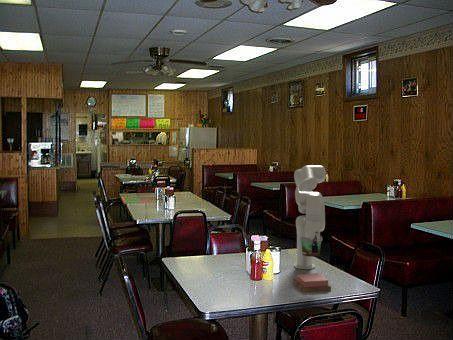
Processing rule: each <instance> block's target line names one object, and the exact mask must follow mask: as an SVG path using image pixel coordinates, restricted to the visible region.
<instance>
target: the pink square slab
mask: <svg viewBox="0 0 453 340" xmlns="http://www.w3.org/2000/svg"><path fill="white" fill-rule="evenodd" d="M295 279H296V281H297V282H299V283H300V284H301V285H302V286H304V287H319V286H328V284H329V280H328V279H327V278H326V277H324V276H323V275H322V274H320V273H318V272H317V273H301V274H295Z"/></svg>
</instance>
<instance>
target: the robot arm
mask: <svg viewBox="0 0 453 340" xmlns="http://www.w3.org/2000/svg"><path fill="white" fill-rule="evenodd" d="M326 176H327V171H326V169H325V166H323V165H312V164H311V165H304V166H303V167H301V168H299V169H296V170H295V171H294V174H293V179H294V183H295V185H296V188H295V190H294V195H295V196H294V198H295V202H296V204H297V206H298V207H297V208H298V212H299V213H301V214H305V215H299V216H297V217H296V219H295V227H296V262H295V263H294V264H293V266H294V268H296V269H299V270H312V269H315V267H316V265H315V264H314V263H313V260H314V259H313V258H314V257H310V256H304V255H302V243H301V240H300V238H301V236H302V237H306V238H310V240H312V239H313V242H312V244H313V245H312V253H318V243H319V239H320V235H321V232H323V231H324V230H325V227H326V212H325V211H326V210H325V209H326V207H325V202H324V198H323V195H322V193H321V192H318V191H314V189H315V188H317V185H318V184H320V183H323V182H324V181H325V180H326ZM314 238H316V239H314ZM315 240H316V241H315ZM314 241H315V242H314Z"/></svg>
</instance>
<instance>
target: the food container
mask: <svg viewBox="0 0 453 340" xmlns="http://www.w3.org/2000/svg"><path fill="white" fill-rule="evenodd" d="M314 239H316V238H314ZM300 240H301V243H302V255H304V256H310V257H313V258H314V257H319V256H320V255H321V254H320V253H321V246H322V241H323V236H322V235H321V234H320V239H319V243H318V253H312V245H313V244H312V242H313V239H312V240H310V238H306V237H302V236H301V238H300ZM315 241H316V240H315ZM315 241H314V242H315Z"/></svg>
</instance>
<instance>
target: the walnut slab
mask: <svg viewBox="0 0 453 340" xmlns="http://www.w3.org/2000/svg"><path fill="white" fill-rule="evenodd" d="M293 285H294V286H295V287H296V288H298V289H299V290H301V292H303V293H315V292H331V291H332V286H331V285H330V284H329V283H328V286H319V287H304V286H302V285H301V284H300V283H299V282H297V281H296V278H295V279H293Z"/></svg>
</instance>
